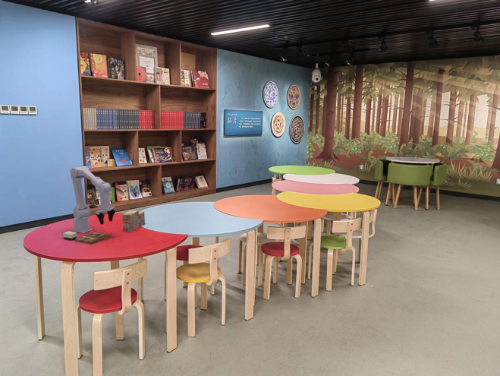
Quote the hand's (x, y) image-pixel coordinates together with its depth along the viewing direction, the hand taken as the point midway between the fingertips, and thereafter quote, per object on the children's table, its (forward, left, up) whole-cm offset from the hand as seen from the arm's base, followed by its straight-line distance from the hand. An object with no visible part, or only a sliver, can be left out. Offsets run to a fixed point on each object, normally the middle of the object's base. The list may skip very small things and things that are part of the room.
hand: (106, 222), depth 244 cm
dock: (-5, -7, -10) cm, 13 cm away
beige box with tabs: (-18, -13, -10) cm, 24 cm away
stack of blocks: (+1, +25, -10) cm, 27 cm away
